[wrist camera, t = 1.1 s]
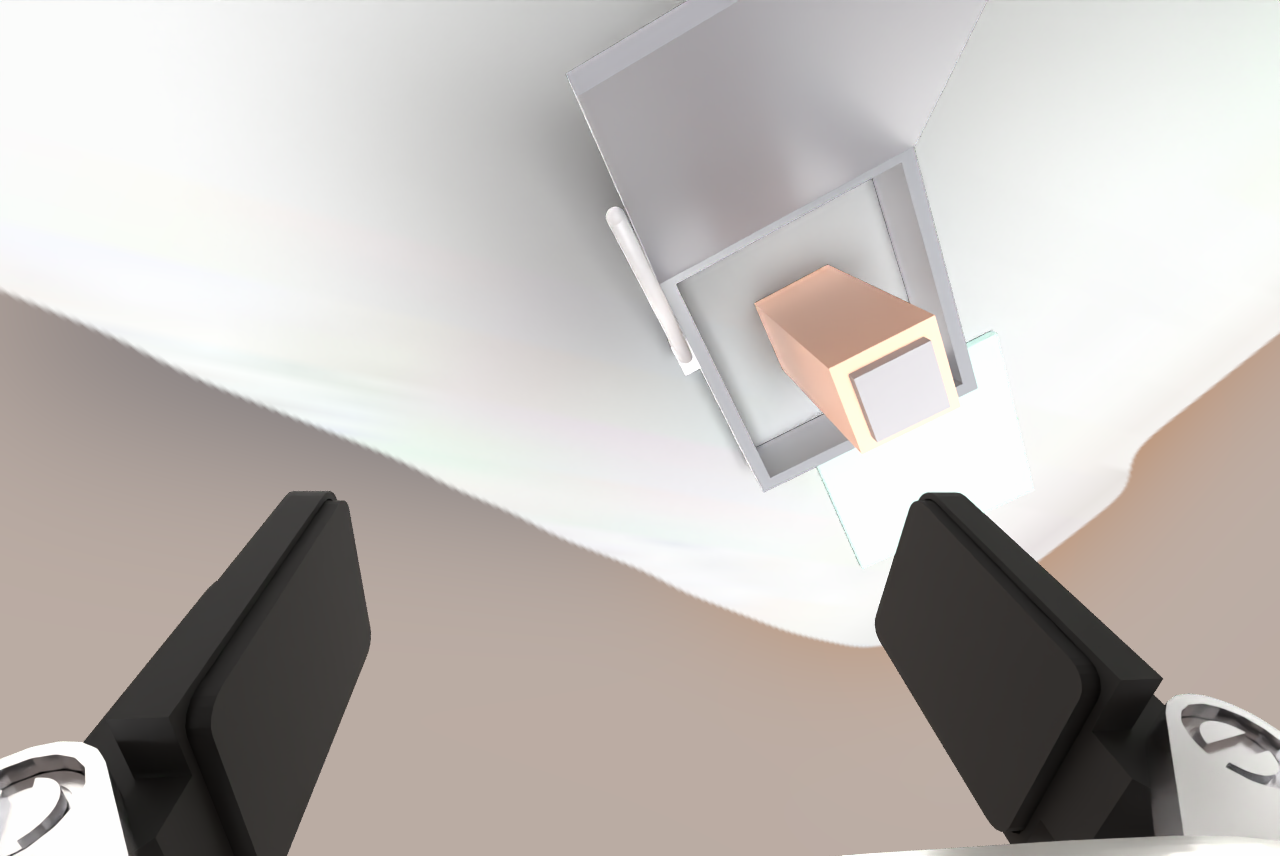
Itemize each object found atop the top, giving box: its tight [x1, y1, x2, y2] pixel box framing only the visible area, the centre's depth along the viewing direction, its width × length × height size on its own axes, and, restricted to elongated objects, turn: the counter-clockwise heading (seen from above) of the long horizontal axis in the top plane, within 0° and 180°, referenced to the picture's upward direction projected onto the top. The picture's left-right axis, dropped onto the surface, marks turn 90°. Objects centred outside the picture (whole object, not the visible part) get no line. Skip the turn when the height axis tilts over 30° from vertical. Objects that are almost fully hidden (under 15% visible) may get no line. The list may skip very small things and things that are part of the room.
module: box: [754, 265, 961, 455], centre depth 32 cm, size 5×5×13 cm
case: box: [566, 0, 988, 492], centre depth 28 cm, size 16×25×17 cm, turn 28°
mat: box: [817, 331, 1034, 569], centre depth 43 cm, size 14×14×1 cm
